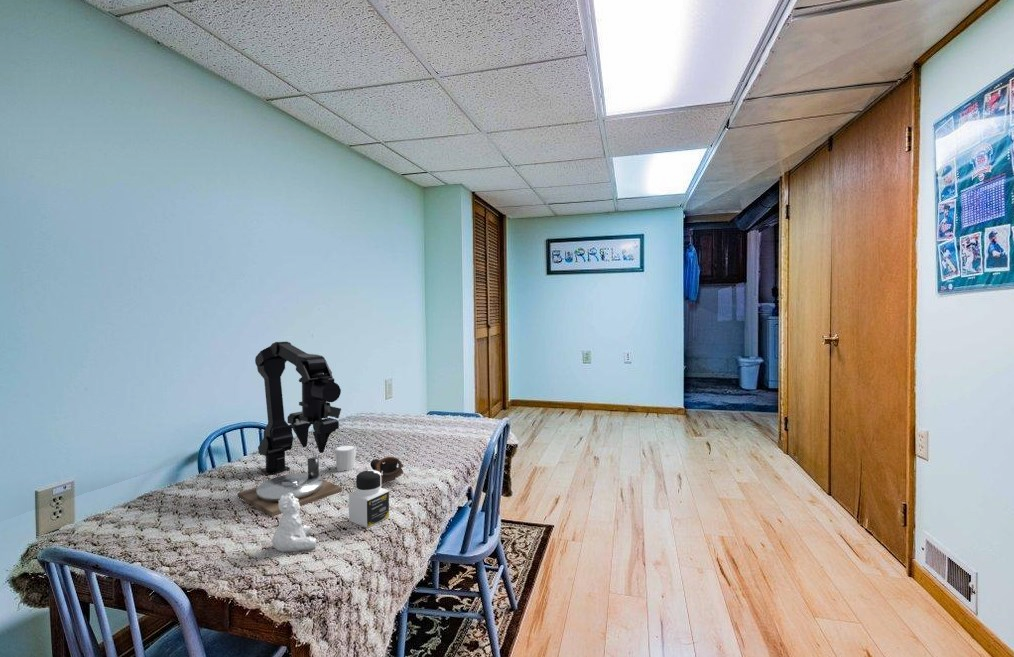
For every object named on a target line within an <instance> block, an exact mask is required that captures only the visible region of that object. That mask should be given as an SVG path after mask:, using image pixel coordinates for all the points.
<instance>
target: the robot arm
mask: <svg viewBox="0 0 1014 657" xmlns="http://www.w3.org/2000/svg"><path fill="white" fill-rule="evenodd" d="M254 359H255V360H254V361H255V362H254V363H255V365H256V367H257V368H256V369H257V373H258V374H259V375H260V376H261V377H262V378H263V380H264V392H265V393H264V394H265V402H266V405H265V406H266V413H267V414H266V415H267V424H266V425H265V428H264V430H263V438H262V440H261V442H260V443H259V445H258V447H257V450H258V454H259V455H262V456H265V467H264V468H263V467H262V468H261V469H260V470H261V472H264V473H265V474H268V475H274V474H278V473H280V472H284V471H289V470H290V468H291V467H290V466H287V465H286V451H291V450H292V448H293V447H292V446H293V442H294V434H293V432H294V433H295V436H296V437H297V438H298V441H299V442H300V445H301V446H302V448H306V447H307V446H308V440H309V430H310V427H311V426H312V429H313V431H312V434H313V438H314V442H315V444H316V447H317V449H318V453H319V454H322V453H324V452H325V450H326V446H327V443H328V440H329V438H330V435H331V434H332V433H333V432H335V431H336V430H338V429H340V421H339V420H338V419H339V418H340V415H341V412H342V408H340V407H336V406H331V403H334V402H336V401H338V400H339V398H340V396H341V393H342V390H341V387H340V385H339V384H338V383H337V382H335V378H334V377H333V374H332V373H333V372H332V370H331V368H330V366H329V364H328V361H327V360H326V358H325V357H324V355H319V354H314V353H307V352H305V351H303V350H302V349H299V348H298V347H296V346H295V345H293V344H292V343H291V342H289V341H275V342H273V343H272V344H271V345H270V346H268V347H265V348H264V349H262V350H260V351H259V353H258V354H257V355H256V356H255V358H254ZM287 362H288V363H291V364H292V365H294V367H295V371H296V372H297V373H298V374H299V375H300V376H301V377H299V379H298V382H299V383H301V401H298V406H301V411H297V412H292V413H289V415H288V416H287V421H286V420H285V418H286V417H285V410H284V398H283V388H282V375H283V374H284V371H285V370H286V363H287Z"/></svg>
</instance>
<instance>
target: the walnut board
mask: <svg viewBox="0 0 1014 657" xmlns="http://www.w3.org/2000/svg"><path fill="white" fill-rule="evenodd" d="M257 487H258V486H256V487H252V488H249V489H246V490H244V491H243V490H242V491H239V492H237V495H236V498H238V497H239V498H238V499H240V498H241V499H243V500H244V502H245V501H246V502H245V503H247V504H249V505H250V504H251V506H252V507H254V508H256V509H257V510H259V511H261V512H263V513H265V514H267V515H268V516H270V517H272V518H273V517H276V516H279V515H281V514H283V513H282V512H281V511H280V509H279V507H278V504H279V502H269V501H263V500H261V499H259V498H258V497H257V492H256V490H257ZM341 492H343V487H342V486H340V485H337V484H334V483H332V482H330V481H327V480H325V479H323V478H322V487H321V489H320V490H318V491H317V492H315V493H313V494H311V495H309V496H306V497H303V498H300V499H299V501H298V502H299V504H300V506H301V507H303V506H306V505H308V503H309V504H311V503H313V501H314V502H316V500H317V501H319V499H320V500H322V499H325V498H327V496H328V497H330V496H333V495H336V494H338V493H341ZM324 497H325V498H324ZM241 499H240V500H241ZM243 500H242V501H243ZM305 504H306V505H305ZM302 505H303V506H302Z"/></svg>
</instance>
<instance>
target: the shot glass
mask: <svg viewBox="0 0 1014 657" xmlns="http://www.w3.org/2000/svg"><path fill="white" fill-rule="evenodd" d="M356 453H357V446H356V445H352V444H347V445H340V446H337V447H335V448H334V454H335V463H336V470H337V471H338V470H340V471H339V472H345V471H344V470H349V471H352V470H354V469H355V468H354V467H355V464H356V455H357V454H356ZM353 468H354V469H353ZM351 469H352V470H351Z"/></svg>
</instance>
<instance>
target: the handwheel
mask: <svg viewBox="0 0 1014 657" xmlns="http://www.w3.org/2000/svg"><path fill="white" fill-rule="evenodd" d="M319 460H320V459H319V457H318V456H313V457H308V458H307V472H301V473H300V472H299V473H298V472H297V473H289V474H284V475H280V476H279V475H278V476H275V477H272V478H270V479H268V480H265V481H263V482H262V483H260V484H259V485H258V486H256V487H257V490H256V492H257V497H258V498H259V499H261V500H263V501H269V502H278V501H279V500H280V498H281V496H282V495H283V496H285V495H286V494H287V493H293V495H294V497H295V498H297V499H300V498H303V497H306V496H309V495H311V494H313V493H315V492H317V491H318V490H320V489H321V487H322V479H323V478H322V477H321V476H320V470H319V469H320V467H319V466H320V465H319V464H320V463H319Z"/></svg>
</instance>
